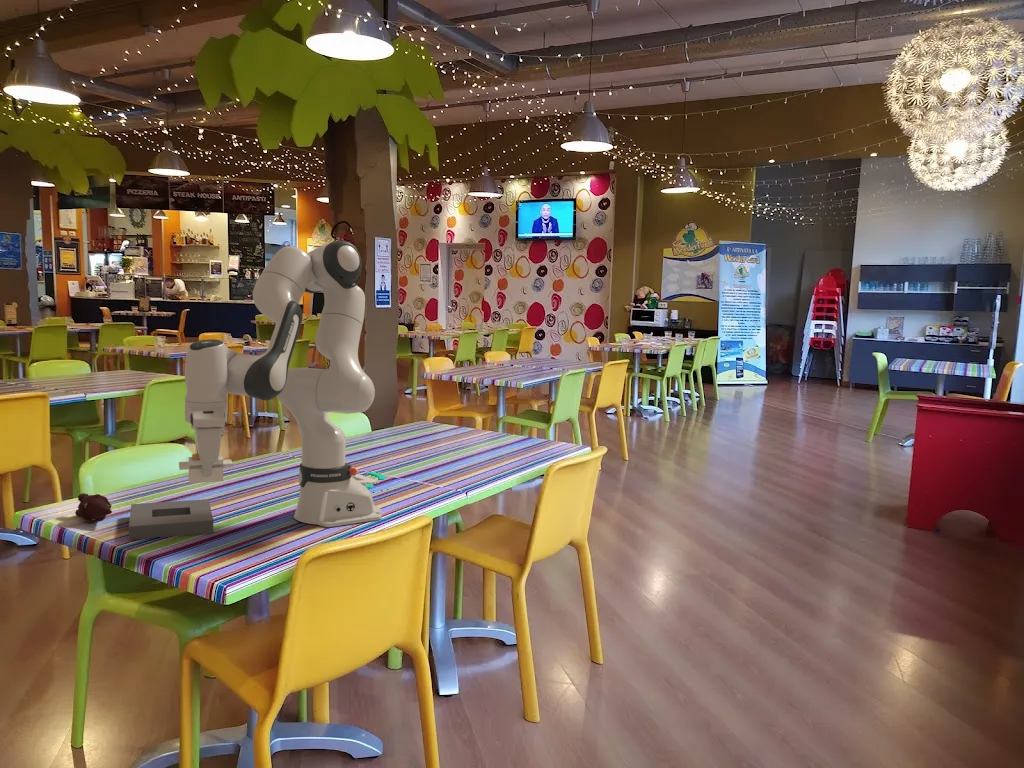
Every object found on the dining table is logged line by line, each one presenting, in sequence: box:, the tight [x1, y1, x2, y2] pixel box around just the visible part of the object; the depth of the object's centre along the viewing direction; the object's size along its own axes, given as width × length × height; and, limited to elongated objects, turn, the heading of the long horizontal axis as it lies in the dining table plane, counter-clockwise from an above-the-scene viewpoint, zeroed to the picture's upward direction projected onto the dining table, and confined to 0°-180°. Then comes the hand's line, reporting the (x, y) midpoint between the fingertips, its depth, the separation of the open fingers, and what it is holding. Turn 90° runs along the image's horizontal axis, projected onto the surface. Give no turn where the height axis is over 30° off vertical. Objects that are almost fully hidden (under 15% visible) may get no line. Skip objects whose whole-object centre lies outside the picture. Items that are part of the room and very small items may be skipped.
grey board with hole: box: [128, 498, 214, 541], centre depth 182 cm, size 18×18×3 cm
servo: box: [178, 453, 234, 484], centre depth 167 cm, size 11×4×6 cm, turn 116°
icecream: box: [74, 492, 113, 523], centre depth 181 cm, size 7×7×15 cm
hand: (206, 472), depth 168 cm, fingers closed on servo, 4 cm apart
